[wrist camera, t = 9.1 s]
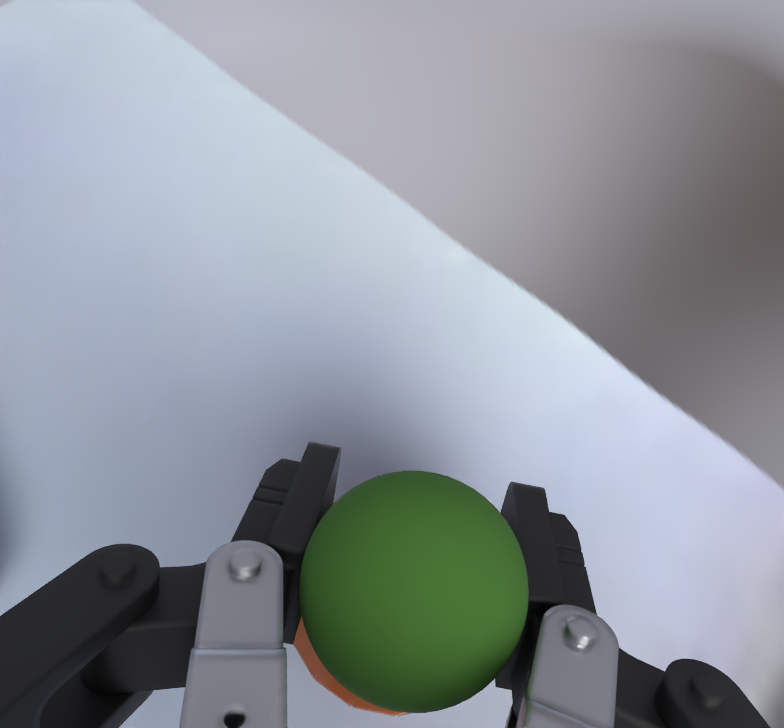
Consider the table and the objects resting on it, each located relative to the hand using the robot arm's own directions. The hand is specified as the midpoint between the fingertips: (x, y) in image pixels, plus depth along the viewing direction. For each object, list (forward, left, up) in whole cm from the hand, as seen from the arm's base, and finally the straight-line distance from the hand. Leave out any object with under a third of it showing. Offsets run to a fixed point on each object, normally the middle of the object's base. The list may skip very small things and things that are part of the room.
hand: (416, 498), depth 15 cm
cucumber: (0, -2, -10) cm, 10 cm away
